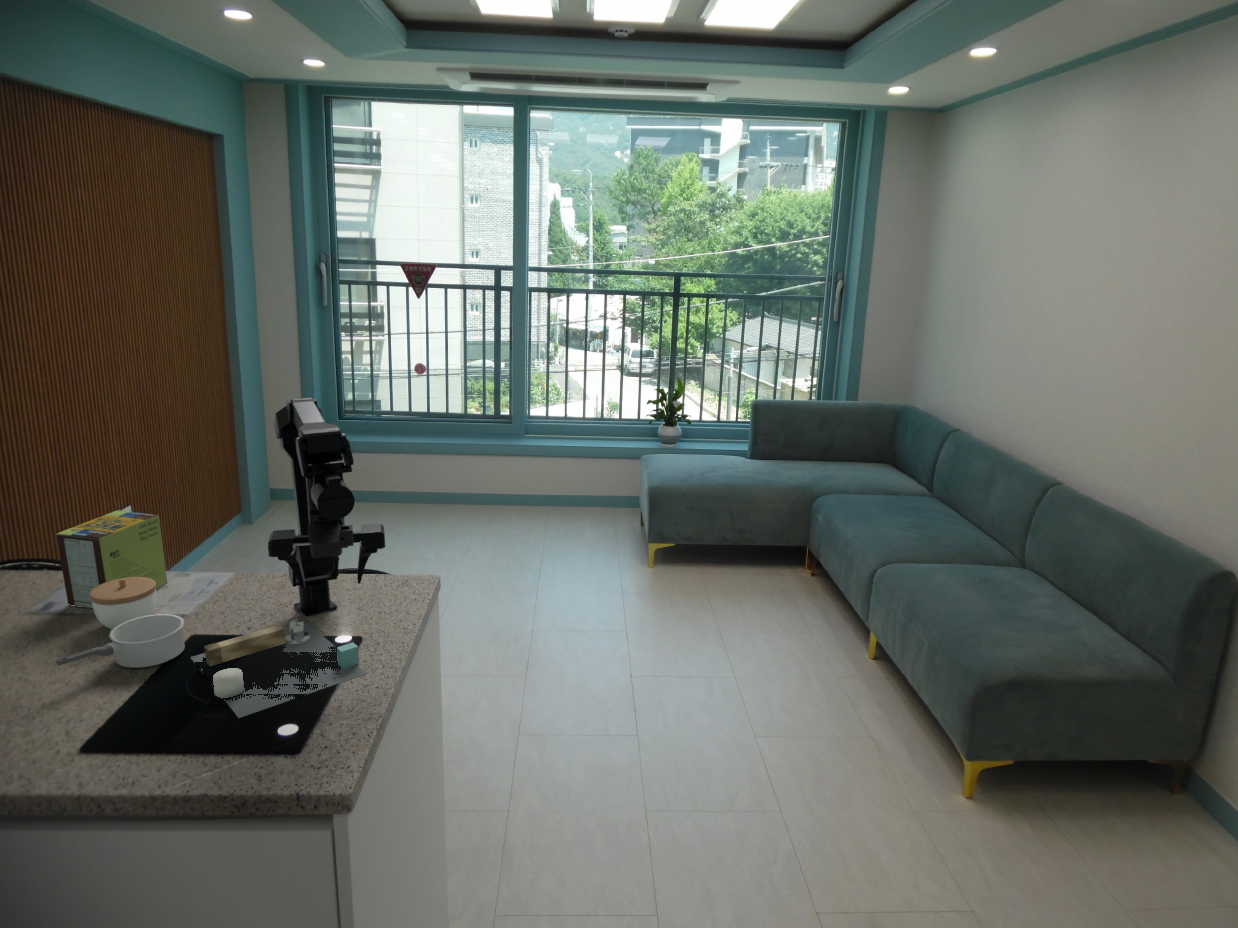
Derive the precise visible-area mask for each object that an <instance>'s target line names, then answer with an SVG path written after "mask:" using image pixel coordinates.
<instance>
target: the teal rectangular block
mask: <svg viewBox="0 0 1238 928" xmlns="http://www.w3.org/2000/svg"><path fill="white" fill-rule="evenodd" d="M336 647H337V646H336ZM337 661H338V665H339V666H340V667H341V668H342V669H345V668H347V667H350V666H353V665H356V664H357V665H359V664H360V656H359V646H358V645H357V644H356V643H355V642H353V641H352V642H350V643H346V644H343V645H340V646H338V647H337Z"/></svg>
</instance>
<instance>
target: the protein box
mask: <svg viewBox="0 0 1238 928" xmlns="http://www.w3.org/2000/svg"><path fill="white" fill-rule="evenodd" d="M160 524H161V523H160V517H159V514H156V513H155V514H154V513H147V512H146V513H145V512H136V511H127V510H121V509H120V510H119V509H118V510H115V511H111V512H109V513H107V514H104V515H102V516H100V517H97V518H96V517H95V518H93V519H90V520H88V521H85V522H83V523H80V524H78V525H76V526H73V527H70V528H67V529H65V530H62V531H60V532H58V533H56V534H55V535H56V543H57V548H58V553H59V559H60V563H61V564H60V565H61V570H62V576H63V583H64V589H65V593H66V600H67V605H68V604H70V605H75V606H81V607H85V608H84V609H87V608H90V609H89V610H93V606H92V601H91V599H90V592H91V590H92V589H94V588H95V587H96V586H98V585H100V584H103V583H105V582H108V581H112V580H116V579H120V578H127V577H146V578H150V579H153V580H154V581H155V582H156V589H157V588H161V587H162V586H164V585H165V584H167V583H168V578H167V570H166V569H167V568H166V561H165V555H164V545H163V538H162V532H161V531H162V530H161V525H160Z"/></svg>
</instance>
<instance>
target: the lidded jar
mask: <svg viewBox="0 0 1238 928" xmlns="http://www.w3.org/2000/svg"><path fill="white" fill-rule="evenodd" d="M157 598H158V597H157V588H156V582H155V581H154V580H153V579H150V578H146V577H127V578H120V579H116V580H112V581H108V582H105V583H103V584H100V585H98V586H96V587H95V588H94V589H92V590H91V592H90V599H91V601H92V606H93V609H92V610H93V613H94V615H95V617H96V619H97V620H98V621H99V623H100V624H101V625H102V626H103V627H106V628H107V629H109V630H110V631H111V630H112V629H114V628H115V627H116V626H118V625H120V624H122V623H124V622H126V621H129V620H131V619H135V618H138V617H142V616H147V615H154V614H155V611H156V608H157V603H158V602H157Z"/></svg>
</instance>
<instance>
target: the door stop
mask: <svg viewBox="0 0 1238 928" xmlns="http://www.w3.org/2000/svg"><path fill="white" fill-rule="evenodd" d="M213 685H214V687H213V692H214V696H215V697H216V696H217V697H216V698H218V697H220V698H219V699H223V698H229V697H233V696H236V695H239V694H240V693H242V692H243V691H244V681H243V672H242V670H241V669H239V668H227V669H223V670H220V671H218V672H216V673H215V674H214V675H213ZM213 685H212V686H213Z"/></svg>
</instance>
